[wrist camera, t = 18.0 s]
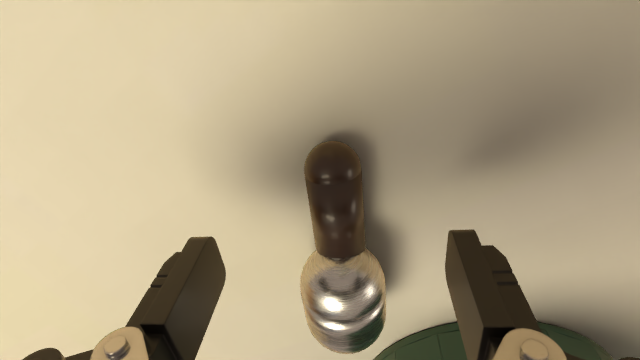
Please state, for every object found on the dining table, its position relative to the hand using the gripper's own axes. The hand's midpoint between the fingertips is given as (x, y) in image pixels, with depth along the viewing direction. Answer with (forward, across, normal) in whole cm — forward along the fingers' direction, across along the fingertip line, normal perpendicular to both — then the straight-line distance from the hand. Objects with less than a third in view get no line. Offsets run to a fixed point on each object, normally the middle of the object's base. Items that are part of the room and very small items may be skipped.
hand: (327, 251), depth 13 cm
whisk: (+4, 0, +3) cm, 5 cm away
